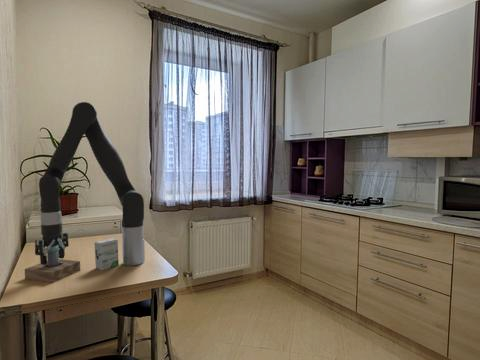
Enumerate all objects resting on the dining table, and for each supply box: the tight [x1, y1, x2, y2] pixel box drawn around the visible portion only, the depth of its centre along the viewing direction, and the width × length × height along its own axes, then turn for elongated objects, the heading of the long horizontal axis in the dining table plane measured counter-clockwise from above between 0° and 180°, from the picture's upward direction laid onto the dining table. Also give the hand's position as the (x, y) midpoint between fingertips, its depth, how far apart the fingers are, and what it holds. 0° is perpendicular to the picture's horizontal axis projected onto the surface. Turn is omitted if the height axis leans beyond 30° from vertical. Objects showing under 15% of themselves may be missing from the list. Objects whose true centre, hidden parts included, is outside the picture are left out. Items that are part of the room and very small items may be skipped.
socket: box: [24, 258, 81, 283], centre depth 132 cm, size 14×14×4 cm
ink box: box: [94, 238, 120, 271], centre depth 141 cm, size 9×5×12 cm, turn 141°
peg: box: [46, 245, 60, 268], centre depth 132 cm, size 4×4×12 cm
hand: (53, 261), depth 131 cm, fingers open, 8 cm apart
